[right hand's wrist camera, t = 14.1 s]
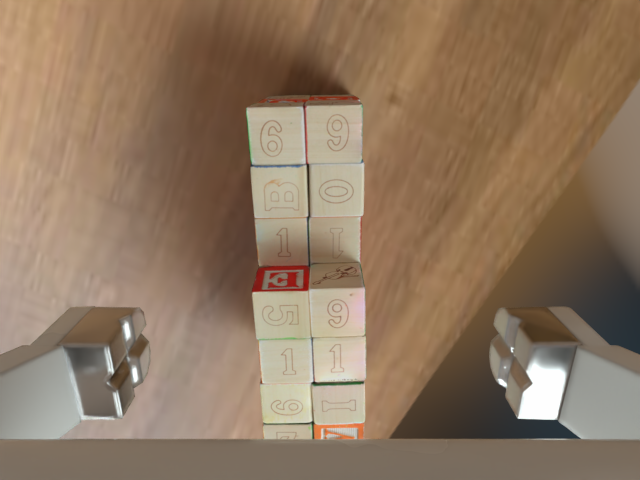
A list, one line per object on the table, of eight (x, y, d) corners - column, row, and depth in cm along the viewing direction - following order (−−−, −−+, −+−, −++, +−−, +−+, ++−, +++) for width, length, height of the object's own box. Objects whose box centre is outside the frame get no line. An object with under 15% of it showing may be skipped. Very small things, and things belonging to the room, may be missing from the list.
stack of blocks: (265, 94, 31) (234, 109, 20) (354, 92, 31) (374, 107, 20) (280, 349, 39) (263, 466, 28) (350, 348, 39) (364, 465, 28)
